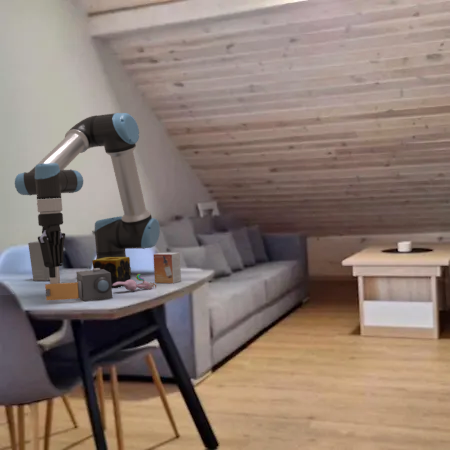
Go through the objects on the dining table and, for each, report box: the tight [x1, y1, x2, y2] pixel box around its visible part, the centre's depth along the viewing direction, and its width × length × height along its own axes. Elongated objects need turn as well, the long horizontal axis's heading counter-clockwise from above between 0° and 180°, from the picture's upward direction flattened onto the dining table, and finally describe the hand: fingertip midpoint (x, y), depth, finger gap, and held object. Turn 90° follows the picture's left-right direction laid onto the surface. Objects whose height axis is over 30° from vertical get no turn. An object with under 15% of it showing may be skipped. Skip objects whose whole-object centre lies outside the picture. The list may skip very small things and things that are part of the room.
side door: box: [44, 281, 82, 301], centre depth 205 cm, size 11×2×5 cm, turn 91°
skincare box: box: [27, 240, 50, 282], centre depth 264 cm, size 8×7×16 cm
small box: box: [153, 252, 182, 284], centre depth 237 cm, size 8×6×10 cm
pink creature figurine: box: [112, 273, 157, 292], centre depth 222 cm, size 6×6×15 cm
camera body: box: [75, 268, 113, 302], centre depth 212 cm, size 14×9×9 cm, turn 21°
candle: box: [91, 256, 132, 289], centre depth 236 cm, size 10×10×10 cm
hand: (55, 287), depth 208 cm, fingers closed
